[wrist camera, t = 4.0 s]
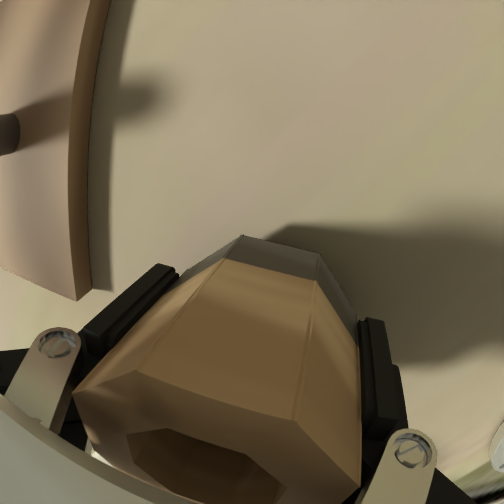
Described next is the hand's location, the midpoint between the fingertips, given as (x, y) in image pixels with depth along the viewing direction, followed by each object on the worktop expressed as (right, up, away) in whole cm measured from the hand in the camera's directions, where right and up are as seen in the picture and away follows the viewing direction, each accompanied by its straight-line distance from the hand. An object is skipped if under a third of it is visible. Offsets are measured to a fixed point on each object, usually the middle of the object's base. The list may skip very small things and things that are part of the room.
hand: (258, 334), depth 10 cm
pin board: (-14, +9, +2) cm, 17 cm away
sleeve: (0, 0, +1) cm, 1 cm away
